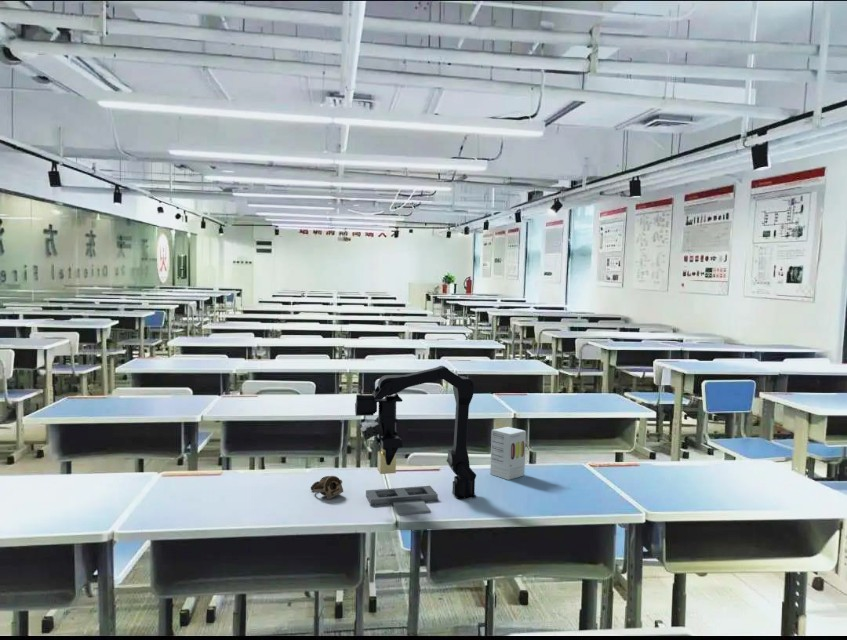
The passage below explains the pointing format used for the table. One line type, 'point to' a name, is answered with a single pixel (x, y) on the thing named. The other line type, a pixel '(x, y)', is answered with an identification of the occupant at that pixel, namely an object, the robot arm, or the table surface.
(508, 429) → the supplement box
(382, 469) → the brass cube with knob
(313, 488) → the brown piece
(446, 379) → the robot arm
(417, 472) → the table surface
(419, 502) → the mat
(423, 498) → the rectangular frame with openings
